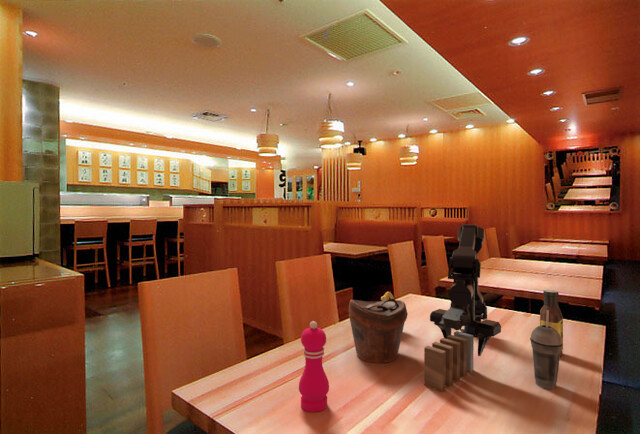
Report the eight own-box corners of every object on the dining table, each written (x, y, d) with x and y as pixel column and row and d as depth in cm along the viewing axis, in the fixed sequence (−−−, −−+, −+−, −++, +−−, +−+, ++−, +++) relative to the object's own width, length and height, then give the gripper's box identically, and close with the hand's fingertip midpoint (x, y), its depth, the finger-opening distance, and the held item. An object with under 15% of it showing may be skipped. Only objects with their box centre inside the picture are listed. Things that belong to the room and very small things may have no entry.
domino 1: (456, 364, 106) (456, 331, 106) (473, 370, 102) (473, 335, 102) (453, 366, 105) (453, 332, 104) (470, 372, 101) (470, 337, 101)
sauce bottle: (566, 358, 110) (567, 293, 109) (544, 356, 111) (545, 293, 111) (557, 349, 116) (558, 289, 116) (536, 348, 118) (536, 288, 117)
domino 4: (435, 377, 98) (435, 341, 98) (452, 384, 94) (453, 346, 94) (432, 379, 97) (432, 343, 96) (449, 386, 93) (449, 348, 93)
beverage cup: (557, 380, 96) (558, 306, 95) (566, 394, 89) (567, 314, 88) (526, 376, 98) (527, 304, 98) (533, 389, 91) (533, 311, 91)
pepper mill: (298, 397, 88) (297, 317, 88) (327, 396, 89) (327, 316, 88) (299, 414, 81) (298, 327, 80) (330, 412, 82) (330, 326, 81)
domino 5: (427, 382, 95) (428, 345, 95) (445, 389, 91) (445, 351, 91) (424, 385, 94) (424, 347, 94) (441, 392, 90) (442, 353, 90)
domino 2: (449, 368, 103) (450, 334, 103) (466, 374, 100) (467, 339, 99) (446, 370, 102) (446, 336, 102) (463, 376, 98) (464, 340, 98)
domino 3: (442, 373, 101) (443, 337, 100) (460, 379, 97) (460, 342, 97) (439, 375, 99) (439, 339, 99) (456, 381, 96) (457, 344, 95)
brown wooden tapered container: (419, 352, 115) (418, 296, 114) (385, 374, 100) (384, 310, 100) (373, 339, 127) (372, 289, 126) (336, 357, 112) (335, 300, 112)
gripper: (419, 296, 104) (419, 349, 105) (484, 309, 91) (484, 370, 91) (439, 290, 112) (439, 339, 112) (502, 301, 98) (501, 357, 99)
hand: (463, 351), depth 103 cm, fingers open, 9 cm apart
